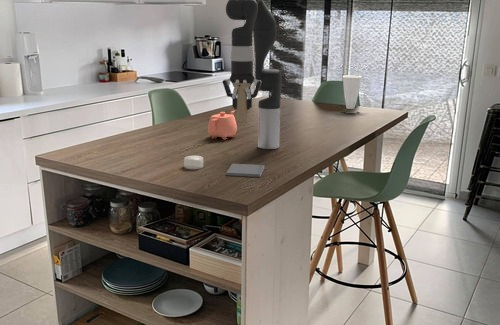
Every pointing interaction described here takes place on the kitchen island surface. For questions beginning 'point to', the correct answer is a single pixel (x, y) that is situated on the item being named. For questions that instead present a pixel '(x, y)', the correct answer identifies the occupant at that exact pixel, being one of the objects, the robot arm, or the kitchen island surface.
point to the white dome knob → (193, 162)
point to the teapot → (222, 125)
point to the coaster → (245, 170)
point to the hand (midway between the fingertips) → (242, 108)
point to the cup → (351, 90)
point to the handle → (242, 103)
